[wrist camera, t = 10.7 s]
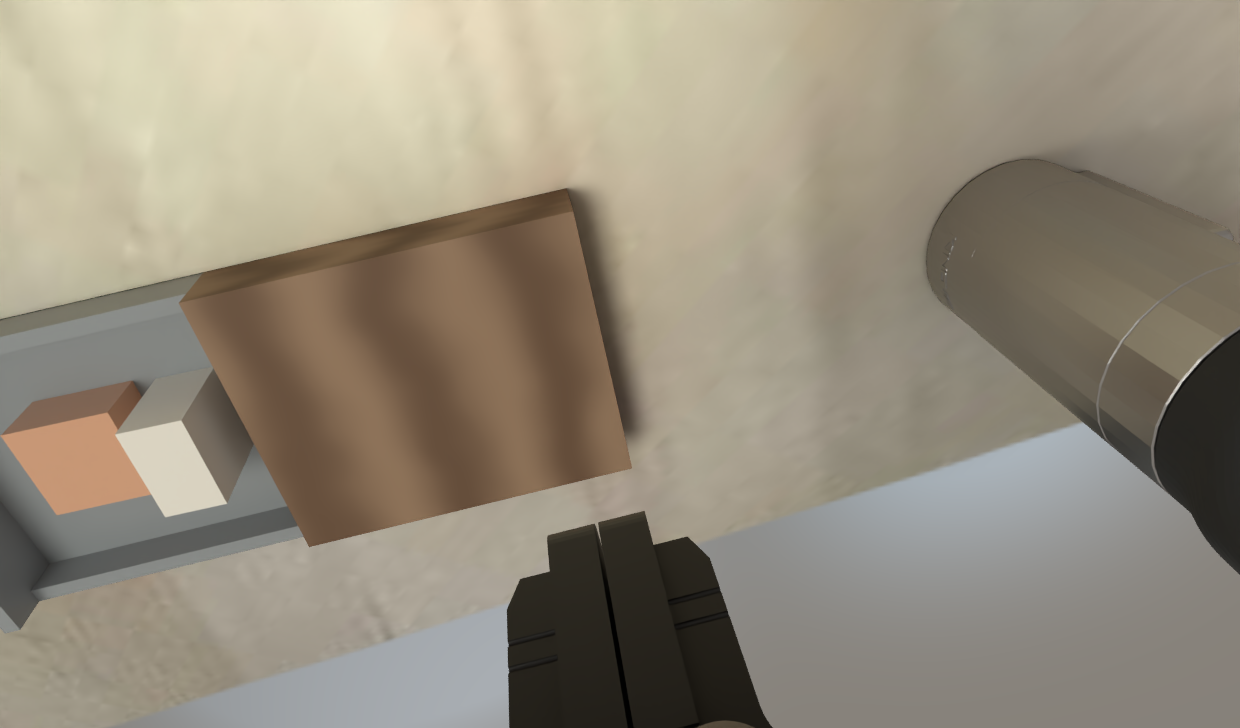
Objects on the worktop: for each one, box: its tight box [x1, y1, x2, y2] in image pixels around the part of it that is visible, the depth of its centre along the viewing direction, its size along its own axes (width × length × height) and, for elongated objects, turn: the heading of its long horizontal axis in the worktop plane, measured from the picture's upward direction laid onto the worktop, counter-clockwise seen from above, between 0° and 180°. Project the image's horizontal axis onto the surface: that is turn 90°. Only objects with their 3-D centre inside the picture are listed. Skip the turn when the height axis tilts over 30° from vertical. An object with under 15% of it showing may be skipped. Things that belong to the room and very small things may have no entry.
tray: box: [0, 273, 304, 633], centre depth 39 cm, size 16×15×4 cm
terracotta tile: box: [1, 381, 151, 515], centre depth 39 cm, size 5×5×3 cm
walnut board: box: [179, 188, 632, 547], centre depth 40 cm, size 18×15×4 cm
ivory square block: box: [115, 367, 254, 517], centre depth 39 cm, size 5×5×3 cm
